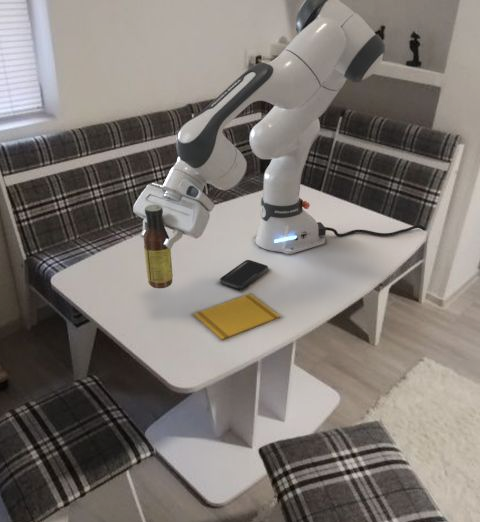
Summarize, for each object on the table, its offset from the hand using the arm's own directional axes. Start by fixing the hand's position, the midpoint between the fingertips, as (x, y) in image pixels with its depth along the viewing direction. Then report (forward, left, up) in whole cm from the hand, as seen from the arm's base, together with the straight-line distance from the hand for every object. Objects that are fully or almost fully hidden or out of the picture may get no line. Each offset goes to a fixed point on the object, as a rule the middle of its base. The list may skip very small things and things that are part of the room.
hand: (155, 242), depth 124 cm
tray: (-18, +9, -20) cm, 28 cm away
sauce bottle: (0, 0, -12) cm, 12 cm away
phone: (-28, -9, -20) cm, 35 cm away
